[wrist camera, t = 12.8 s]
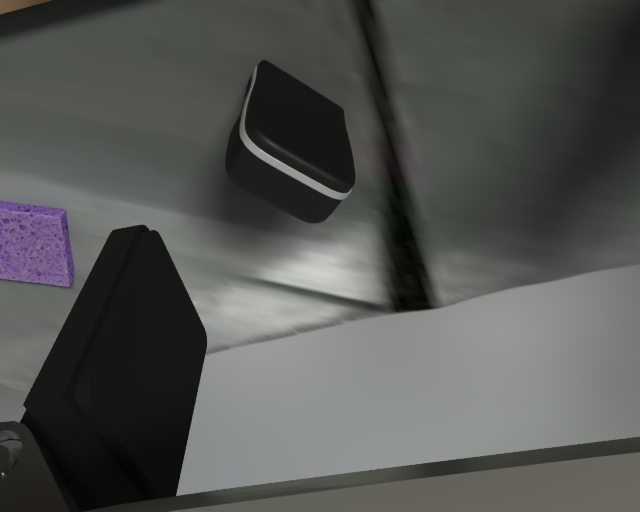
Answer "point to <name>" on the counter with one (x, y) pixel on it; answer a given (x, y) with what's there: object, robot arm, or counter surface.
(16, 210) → the sponges
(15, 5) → the rack
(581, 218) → the counter surface
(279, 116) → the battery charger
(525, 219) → the counter surface
